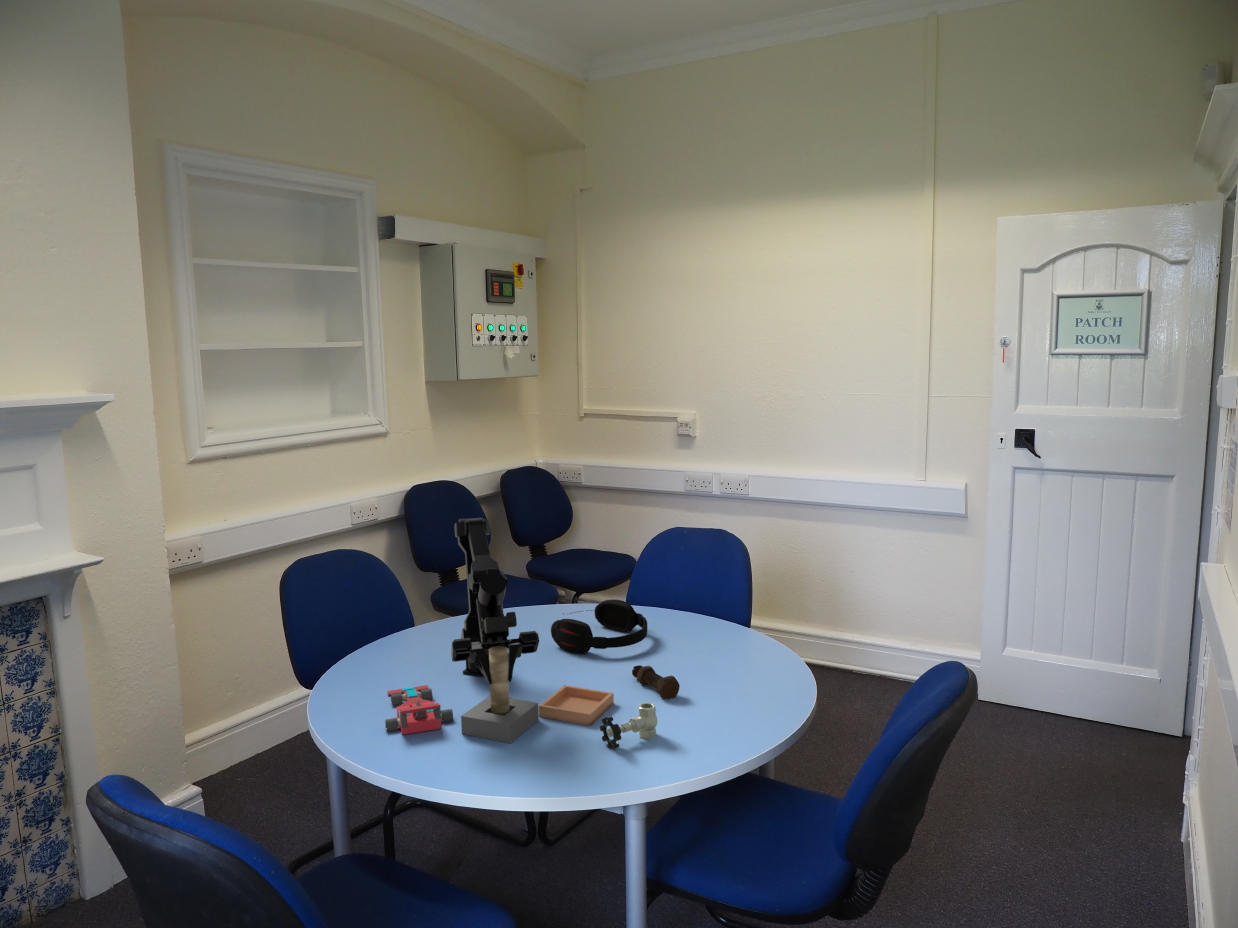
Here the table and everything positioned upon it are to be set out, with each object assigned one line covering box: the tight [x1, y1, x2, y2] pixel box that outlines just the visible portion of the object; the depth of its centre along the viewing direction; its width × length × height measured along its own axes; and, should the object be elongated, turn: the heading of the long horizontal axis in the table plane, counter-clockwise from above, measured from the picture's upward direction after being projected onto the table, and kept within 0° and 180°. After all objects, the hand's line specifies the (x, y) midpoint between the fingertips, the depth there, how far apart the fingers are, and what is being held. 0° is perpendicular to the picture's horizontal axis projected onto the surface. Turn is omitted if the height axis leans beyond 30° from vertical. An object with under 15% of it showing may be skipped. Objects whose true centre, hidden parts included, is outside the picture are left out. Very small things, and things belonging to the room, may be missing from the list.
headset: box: [550, 599, 648, 655], centre depth 236 cm, size 28×26×9 cm
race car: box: [384, 684, 454, 735], centre depth 191 cm, size 14×6×25 cm
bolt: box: [631, 665, 681, 701], centre depth 202 cm, size 6×5×15 cm
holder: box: [460, 695, 539, 744], centre depth 181 cm, size 12×12×4 cm
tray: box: [538, 684, 615, 726], centre depth 190 cm, size 13×13×2 cm
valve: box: [599, 702, 658, 750], centre depth 174 cm, size 7×7×12 cm
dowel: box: [489, 646, 510, 715], centre depth 180 cm, size 4×4×14 cm
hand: (500, 682), depth 179 cm, fingers closed on dowel, 4 cm apart
